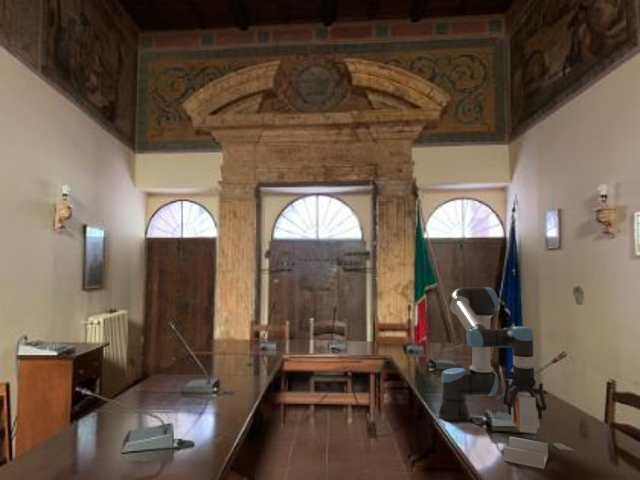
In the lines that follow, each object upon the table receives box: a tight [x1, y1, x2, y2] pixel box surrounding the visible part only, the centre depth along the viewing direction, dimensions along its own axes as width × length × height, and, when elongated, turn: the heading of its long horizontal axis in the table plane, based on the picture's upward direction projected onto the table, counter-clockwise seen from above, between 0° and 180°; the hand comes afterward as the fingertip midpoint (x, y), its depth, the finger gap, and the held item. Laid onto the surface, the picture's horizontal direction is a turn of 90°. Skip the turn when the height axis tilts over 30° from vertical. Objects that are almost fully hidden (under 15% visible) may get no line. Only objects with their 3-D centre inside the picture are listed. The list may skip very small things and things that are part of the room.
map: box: [551, 442, 577, 453], centre depth 183 cm, size 5×20×1 cm, turn 23°
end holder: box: [502, 436, 549, 470], centre depth 178 cm, size 14×13×5 cm
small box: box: [512, 391, 538, 433], centre depth 179 cm, size 8×6×13 cm
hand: (525, 425), depth 178 cm, fingers closed on small box, 8 cm apart
